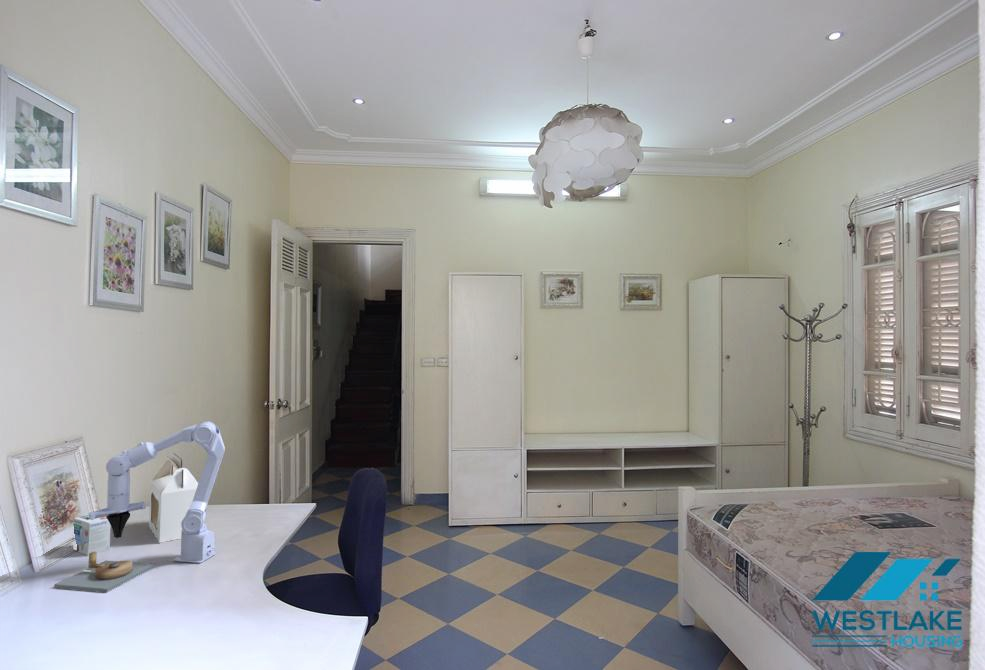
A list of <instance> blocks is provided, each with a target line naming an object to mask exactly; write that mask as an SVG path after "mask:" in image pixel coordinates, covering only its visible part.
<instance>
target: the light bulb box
mask: <svg viewBox="0 0 985 670" xmlns="http://www.w3.org/2000/svg"><path fill="white" fill-rule="evenodd" d="M72 525H73V526H74V534H75V540H76V544H77V551H78V552H77V551H76V552H77V553H80V554H82V555H84V556H87V557H89V553H91V552H97V554H99V553H103V552H105V551H106V550H107V551H110V550H109V549H111V548H110V547H111V545H110V544H111V525H110V523H109V521H108V519H107V518H106V517H101V518H96V519H94V520H90V519H89V514H87V515H82V516H77V517H74V518H73V524H72Z"/></svg>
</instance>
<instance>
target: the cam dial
mask: <svg viewBox="0 0 985 670" xmlns="http://www.w3.org/2000/svg"><path fill="white" fill-rule="evenodd" d="M97 554H98V553H97V552H91V553H89V556H88V568H96V570H95V578H97V579H101V580H106V579H114V578H118V577H121V576H124V575H126V574H128V573H130V572H131V571H132V563H133V562H132V561H130V560H129V561H128V560H115V561H116V562H111V563H107V564H99V563H97Z"/></svg>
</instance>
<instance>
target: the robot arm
mask: <svg viewBox="0 0 985 670" xmlns="http://www.w3.org/2000/svg"><path fill="white" fill-rule="evenodd" d="M193 441H194V442H195V443H196V444H198V445H199V446H201V447H203V449H204V450H205V452H206V453H207V457H206V459H205V461H204V466H203V469H202V472H201V475H200V478H199V481H198V486H197V489H196V492H195V495H194V498H193V501H192V504H191V506H190V509H189V510H188V511H187V513H186V516H185V517H184V519H183V520H182V522H181V527H182V530H181V539H180V556H178V557H175V558H174V559H173V561H174V562H183V563H194V564H201V563H203V562H204V561H206V560H208V559H210V558H211V557H213V556H215V555H216V554H217V552H216V550H215V549H216V547H215V546H216V545H215V544H216V535H215V533H214V531H211V530H209V529H207V528H208V526H207V525H206V523H205V521H206V519H207V517H208V512H207V507H208V505H209V504H208V503H209V500H210V496H211V494H212V491H213V487H214V485H215V481H216V479H217V475H218V473H219V469H220V466H221V463H222V460H223V457H224V454H225V451H226V447H225V443H224V441H223V437H222V435H221V430H220V429H219V427H218V426H217V425H216V424H215V423H214V422H213V421H209V420H205V421H202V422H200V423H199V424H197V423H195V424H193V425H191V426H188V427H185V428H183V429H181V430H178V431H176V432H174V433H172V434H170V435H168V436H166V437H165V438H162V439H160V440H158V441H155V442H149V441H146V442H144V441H141V442H140V443H137V446H135V447H133V448H130V449H129V450H122V451H121V453H118V454H116V455H115V456H113V457H112V458H110V459H108V461H107V462H106V465H105V470H106V472H107V473H108V476H107V479H108V480H107V493H106V494H107V497H106V498H107V501H106V508H102V509H98V510H95V511H92V512H89V514H88V515H89V519H90V520H94V519H96V518H101V517H106V518H107V519H108V521H109V523H110V525H111V526H110V528H111V529H112V534H113V538H115V539H121V538H122V534H123V531H124V529H125V526H126V524H127V523H128V520H129V519H130V517H131V513H130V512H134V511H138V510H145V509H146V506H147V504H146V502H145V501H139V502H134V503H132V502H131V503H130V500H131V499H130V493H131V476H130V471H131V470H130V469H131V468H137V467H138V466H140V465H143V464H145V463H146V462H149V461H151V460H153V459H155V458H156V457H157V456H158V453H159V452H161V451H163V450H167V449H168V448H170V447H173V446H175V445H177V444H179V443H182V442H186V443H187V442H188V443H193Z"/></svg>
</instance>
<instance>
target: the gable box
mask: <svg viewBox="0 0 985 670" xmlns="http://www.w3.org/2000/svg"><path fill="white" fill-rule="evenodd" d="M166 457H167V459H168V461H166V462H165V463H164V464H163V466H162V467H161V469H160V470H159V471H158V472H157V474H155V476H154V478H153V479H152V480H151V481H150V486H149V487H150V489H149V515H148V516H149V519H148V521H149V523H148V527H149V529H150V531H151V530H152V531H151V532H152V534H153V533H154V534H153V535H155V536H154V537H155V539H156V538H157V539H156V540H158V541H157V542H158V544H161V543H160V542H164V543H166V542H165V541H169V542H171V541H170V540H174V541H177V540H176V539H179V540H181V539H180V538H181V530H182V527H181V522H182V520H183V519H184V517H185V516H186V513H187V511H188V510H189V509H190V506H191V504H192V501H193V498H194V495H195V492H196V489H197V486H198V483H199V481H197V480H196V478H195V476H194V475H193V474H192V473H191V471H190V470H189V469H188V468H186V467H183V459H182V458H181V457H179V456H178V455H177V454H176V453H174V452H172V453H171V457H170V456H168V455H167V456H166Z"/></svg>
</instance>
